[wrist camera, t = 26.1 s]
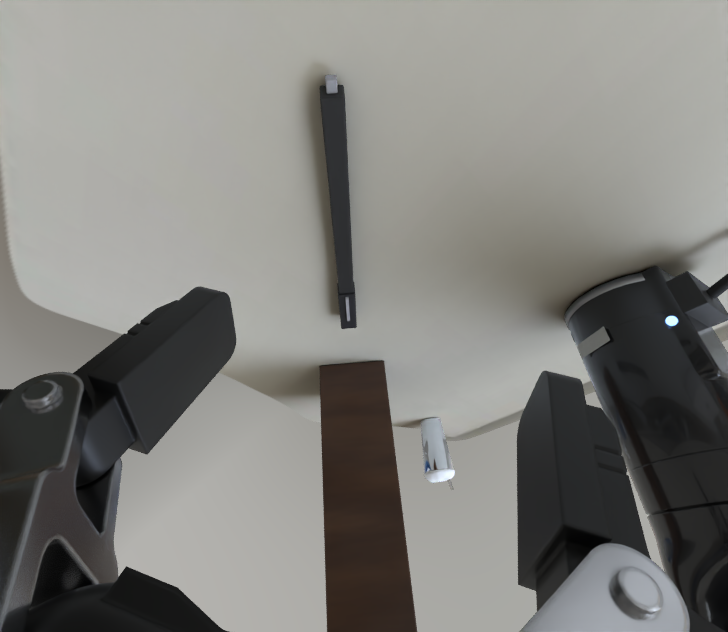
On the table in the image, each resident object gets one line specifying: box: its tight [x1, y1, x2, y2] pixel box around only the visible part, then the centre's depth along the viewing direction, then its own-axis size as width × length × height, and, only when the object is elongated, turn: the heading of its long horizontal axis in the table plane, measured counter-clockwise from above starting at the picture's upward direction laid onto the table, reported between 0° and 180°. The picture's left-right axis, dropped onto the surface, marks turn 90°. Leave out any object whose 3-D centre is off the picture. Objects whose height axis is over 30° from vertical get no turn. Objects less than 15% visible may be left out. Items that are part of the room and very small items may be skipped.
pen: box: [320, 75, 357, 329], centre depth 26 cm, size 21×1×2 cm, turn 0°
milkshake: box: [421, 418, 455, 490], centre depth 62 cm, size 5×5×10 cm
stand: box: [320, 361, 417, 632], centre depth 39 cm, size 15×8×32 cm, turn 1°
